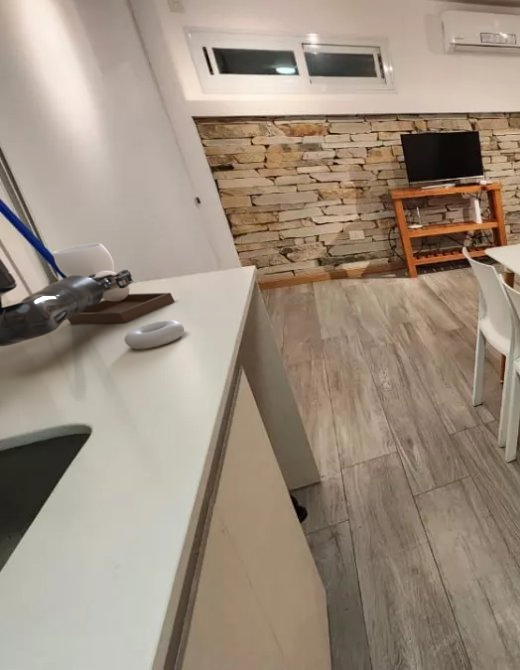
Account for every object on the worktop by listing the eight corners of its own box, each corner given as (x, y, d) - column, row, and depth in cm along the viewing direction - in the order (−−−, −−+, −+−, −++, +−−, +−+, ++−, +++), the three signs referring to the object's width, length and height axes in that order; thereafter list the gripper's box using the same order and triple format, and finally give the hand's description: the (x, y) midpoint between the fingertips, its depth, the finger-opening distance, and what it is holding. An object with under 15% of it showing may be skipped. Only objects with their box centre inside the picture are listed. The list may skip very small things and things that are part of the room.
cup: (132, 290, 139) (106, 240, 133) (130, 299, 132) (102, 247, 125) (83, 301, 133) (53, 249, 127) (78, 311, 126) (46, 256, 119)
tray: (70, 323, 118) (64, 314, 116) (124, 302, 130) (120, 294, 129) (125, 322, 116) (119, 313, 115) (174, 301, 128) (170, 292, 127)
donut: (140, 356, 98) (195, 335, 105) (131, 341, 96) (188, 321, 104) (122, 347, 103) (175, 328, 110) (113, 333, 101) (168, 314, 109)
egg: (136, 299, 121) (121, 269, 118) (103, 307, 117) (86, 276, 114) (133, 294, 125) (118, 265, 122) (100, 302, 121) (84, 272, 118)
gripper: (100, 275, 106) (138, 257, 121) (19, 286, 103) (69, 266, 117) (117, 306, 110) (152, 284, 124) (39, 318, 106) (85, 294, 120)
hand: (111, 275), depth 121 cm, fingers closed on egg, 6 cm apart
